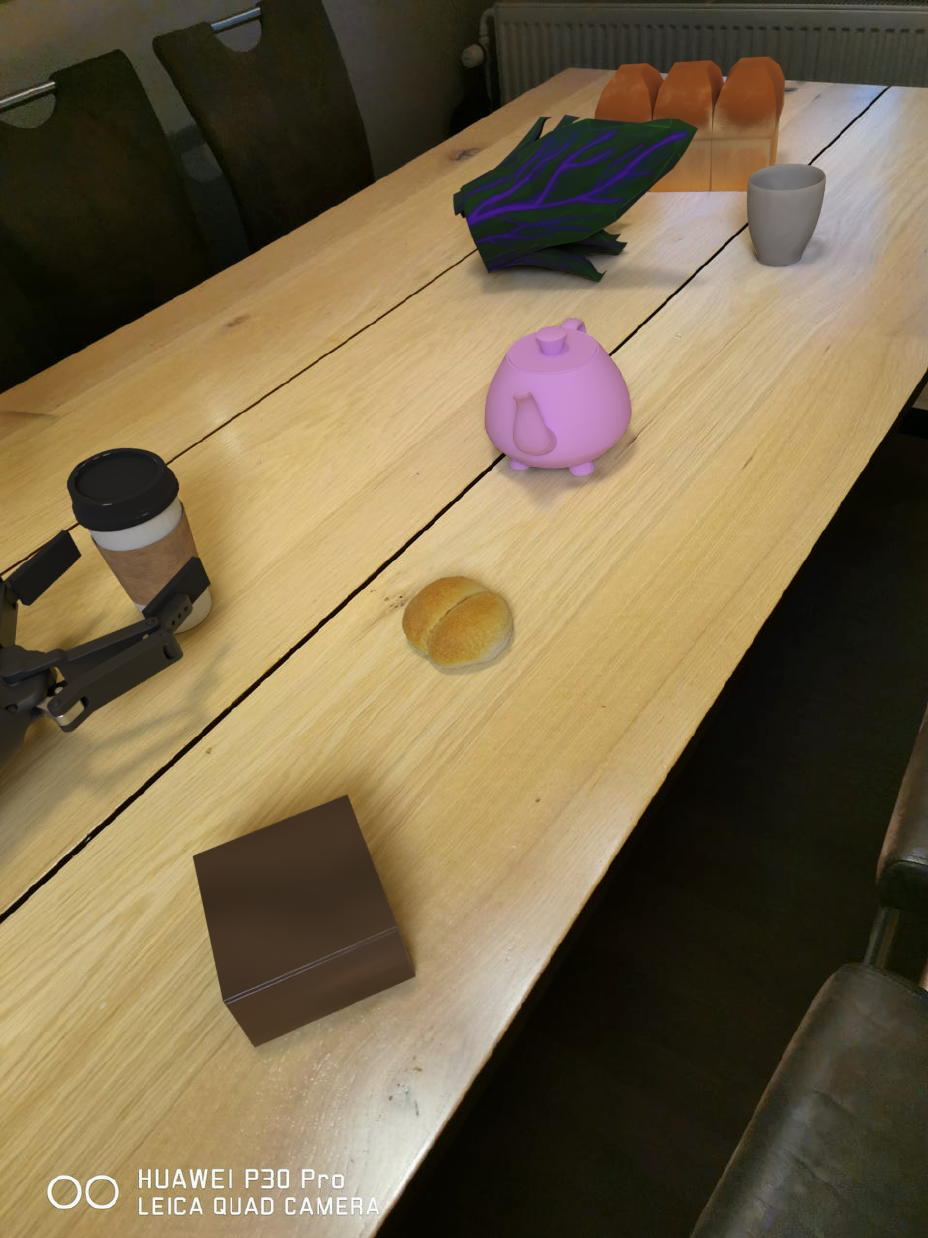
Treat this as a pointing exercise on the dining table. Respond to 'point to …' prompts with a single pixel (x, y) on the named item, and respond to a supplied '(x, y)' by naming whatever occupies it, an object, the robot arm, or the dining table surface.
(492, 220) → the decorative plant
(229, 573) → the dining table surface
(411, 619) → the bread roll
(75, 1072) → the dining table surface
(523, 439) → the teapot
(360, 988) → the riser
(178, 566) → the coffee cup
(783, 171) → the mug
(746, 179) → the bread
